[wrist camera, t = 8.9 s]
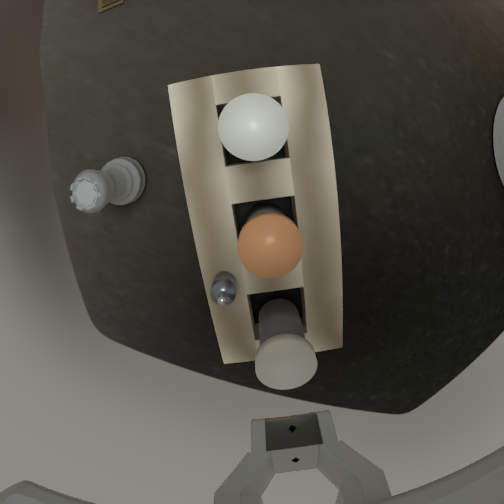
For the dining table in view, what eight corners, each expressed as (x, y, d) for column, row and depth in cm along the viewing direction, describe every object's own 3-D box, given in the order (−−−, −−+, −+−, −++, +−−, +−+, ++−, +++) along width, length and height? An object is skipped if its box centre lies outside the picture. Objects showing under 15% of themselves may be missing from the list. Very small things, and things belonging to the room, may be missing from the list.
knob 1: (274, 104, 24) (283, 89, 17) (281, 153, 25) (293, 156, 18) (223, 111, 24) (213, 99, 17) (230, 161, 25) (223, 166, 19)
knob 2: (287, 194, 26) (300, 211, 20) (292, 242, 28) (306, 273, 21) (237, 201, 27) (232, 220, 20) (244, 248, 28) (243, 282, 21)
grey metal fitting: (236, 271, 26) (235, 290, 23) (235, 292, 27) (234, 313, 23) (212, 270, 26) (208, 289, 22) (212, 291, 26) (208, 312, 23)
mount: (312, 72, 23) (319, 63, 20) (335, 331, 32) (342, 347, 29) (176, 91, 24) (167, 85, 21) (225, 346, 32) (223, 363, 29)
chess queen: (150, 200, 27) (115, 220, 19) (108, 206, 27) (65, 228, 19) (144, 152, 25) (105, 156, 18) (102, 160, 25) (55, 168, 18)
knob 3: (301, 291, 26) (316, 339, 20) (304, 332, 28) (317, 384, 21) (250, 298, 27) (250, 348, 20) (257, 338, 28) (259, 392, 21)
